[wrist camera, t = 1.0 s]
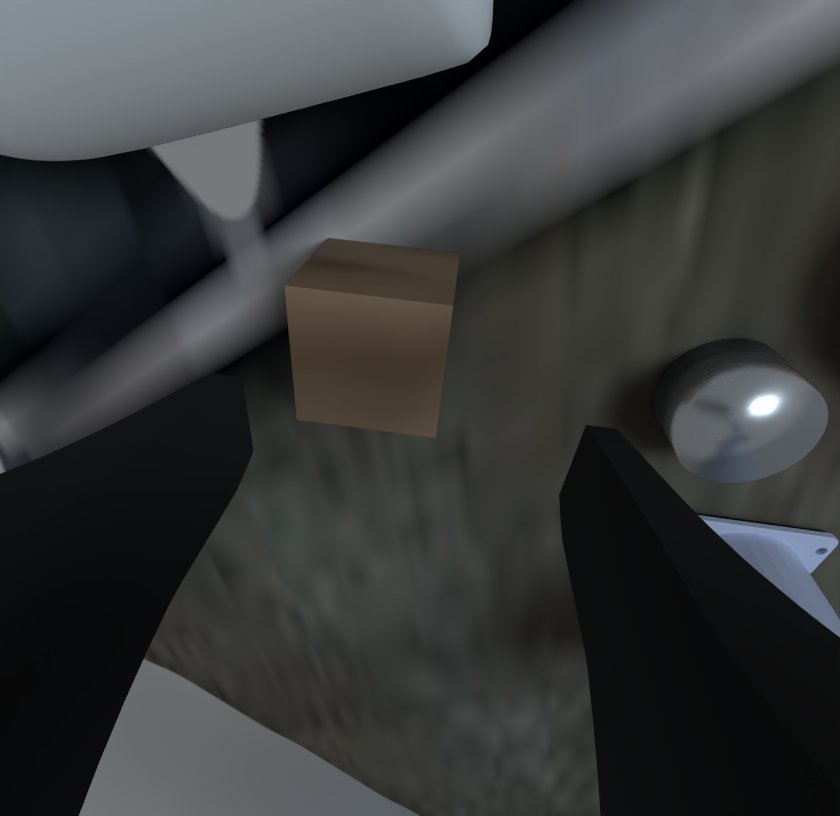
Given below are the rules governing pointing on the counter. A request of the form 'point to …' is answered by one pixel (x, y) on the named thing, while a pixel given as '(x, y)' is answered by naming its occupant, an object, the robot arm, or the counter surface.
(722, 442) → the grey tin
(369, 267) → the walnut cube
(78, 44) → the milk bottle
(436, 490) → the counter surface
